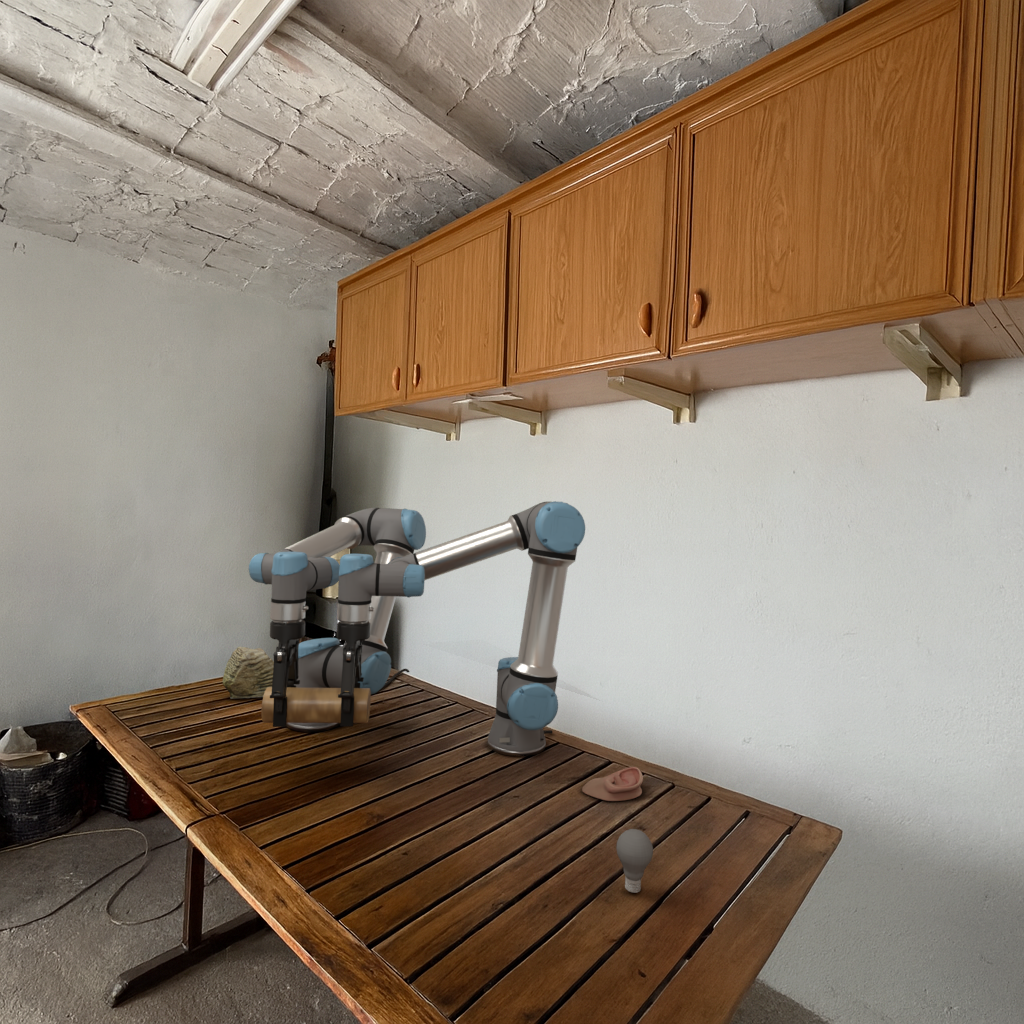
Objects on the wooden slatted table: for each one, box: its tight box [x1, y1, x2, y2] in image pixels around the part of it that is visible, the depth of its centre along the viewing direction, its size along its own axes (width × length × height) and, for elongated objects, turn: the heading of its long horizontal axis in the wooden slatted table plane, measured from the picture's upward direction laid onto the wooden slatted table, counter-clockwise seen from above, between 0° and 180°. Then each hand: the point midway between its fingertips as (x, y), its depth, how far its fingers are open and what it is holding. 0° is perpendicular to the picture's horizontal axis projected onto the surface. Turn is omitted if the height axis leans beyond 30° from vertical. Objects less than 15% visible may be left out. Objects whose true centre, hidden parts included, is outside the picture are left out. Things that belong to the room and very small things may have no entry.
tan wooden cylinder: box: [260, 687, 372, 724], centre depth 145 cm, size 23×8×8 cm, turn 96°
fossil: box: [222, 646, 274, 699], centre depth 198 cm, size 9×18×15 cm, turn 132°
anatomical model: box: [581, 766, 644, 802], centre depth 142 cm, size 13×4×12 cm
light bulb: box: [615, 828, 654, 894], centre depth 106 cm, size 6×6×10 cm
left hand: (284, 719), depth 144 cm, fingers closed on tan wooden cylinder, 8 cm apart
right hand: (350, 717), depth 146 cm, fingers open, 10 cm apart
